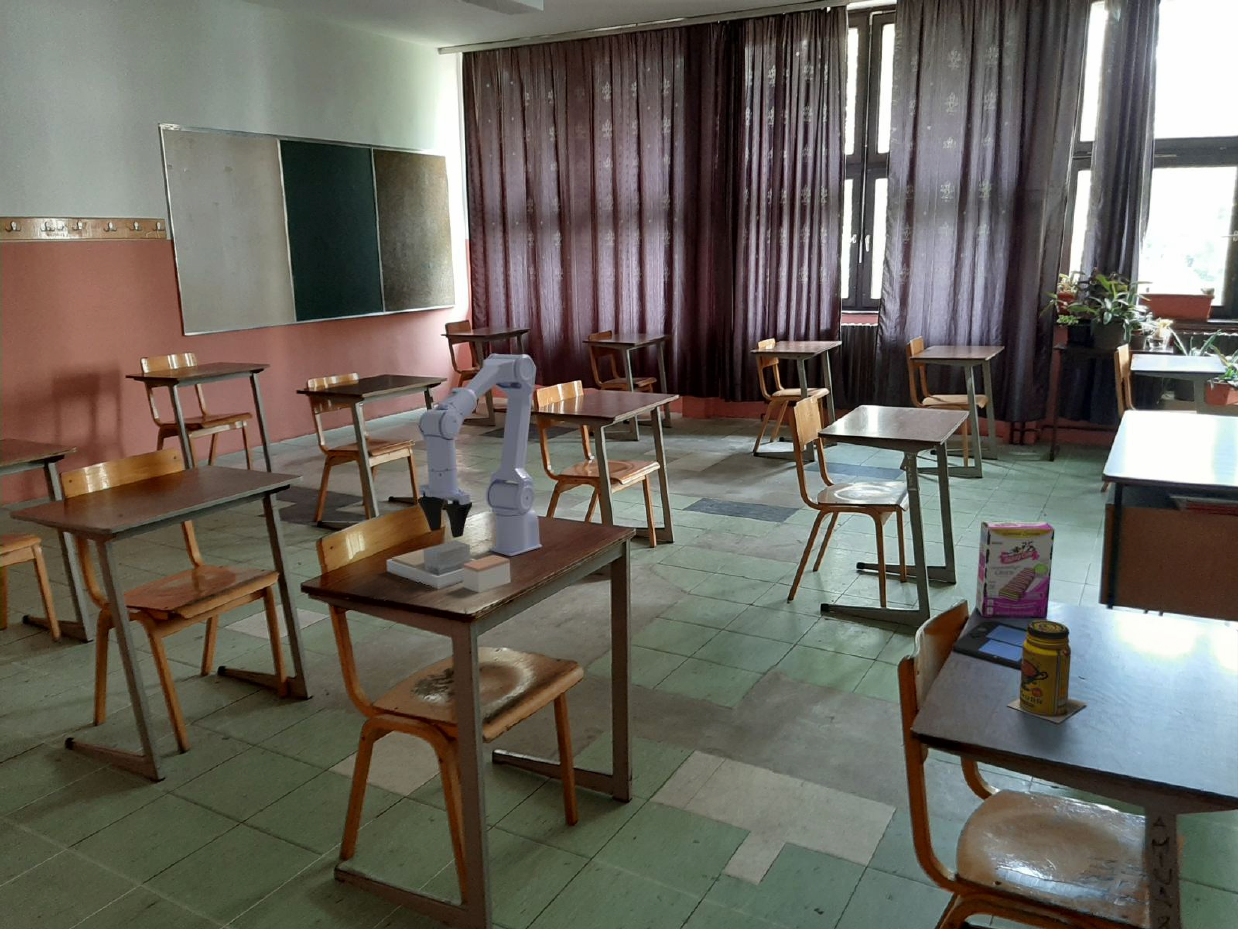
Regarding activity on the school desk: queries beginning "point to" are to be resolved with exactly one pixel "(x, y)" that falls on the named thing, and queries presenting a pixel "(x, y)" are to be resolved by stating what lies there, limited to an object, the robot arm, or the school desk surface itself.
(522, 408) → the robot arm
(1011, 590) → the candy bar box
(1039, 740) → the school desk surface
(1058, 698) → the condiment
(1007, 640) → the game console
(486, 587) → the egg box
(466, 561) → the steel block
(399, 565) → the tray
